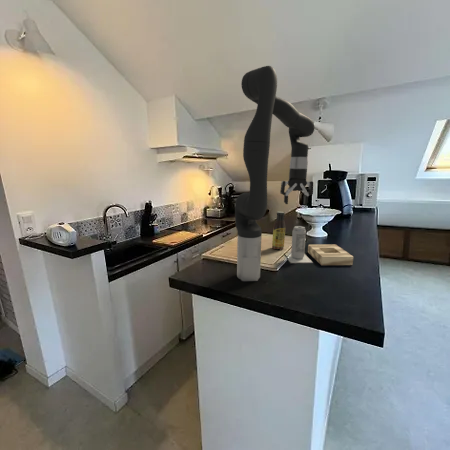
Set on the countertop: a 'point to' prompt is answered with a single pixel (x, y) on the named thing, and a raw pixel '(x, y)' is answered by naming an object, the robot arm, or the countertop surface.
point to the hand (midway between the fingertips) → (295, 204)
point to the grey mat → (300, 260)
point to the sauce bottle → (279, 232)
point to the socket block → (330, 255)
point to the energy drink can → (298, 242)
